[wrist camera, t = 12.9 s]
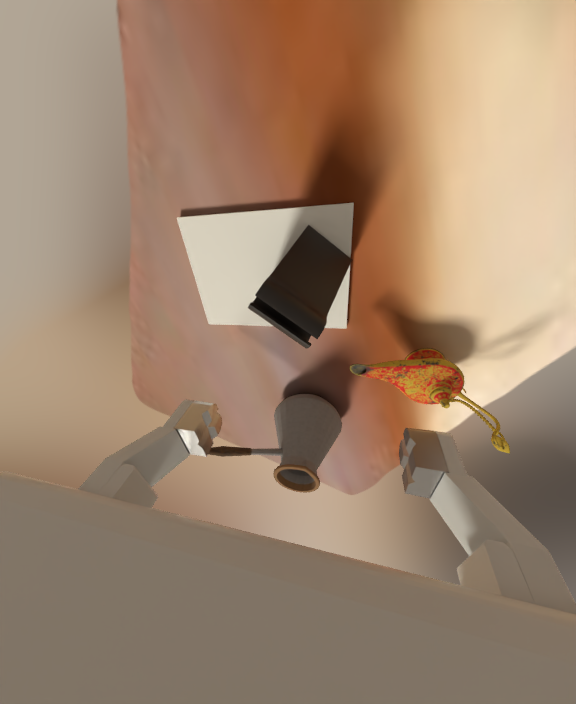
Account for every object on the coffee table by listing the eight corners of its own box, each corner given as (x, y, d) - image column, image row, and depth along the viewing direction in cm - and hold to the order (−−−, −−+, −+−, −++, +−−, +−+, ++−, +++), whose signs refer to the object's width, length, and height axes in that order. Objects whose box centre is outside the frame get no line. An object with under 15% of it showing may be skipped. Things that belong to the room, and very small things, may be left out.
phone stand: (309, 223, 26) (282, 249, 16) (352, 259, 27) (352, 302, 17) (267, 288, 31) (228, 337, 21) (305, 315, 32) (284, 373, 22)
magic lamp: (362, 315, 31) (365, 369, 22) (494, 364, 31) (550, 438, 22) (340, 355, 35) (335, 413, 26) (456, 398, 35) (491, 471, 26)
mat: (353, 202, 24) (353, 203, 24) (346, 325, 32) (346, 328, 32) (180, 216, 29) (176, 217, 28) (211, 321, 37) (208, 324, 36)
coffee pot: (355, 402, 40) (355, 497, 28) (325, 437, 47) (315, 526, 35) (235, 351, 39) (183, 426, 27) (223, 394, 46) (177, 469, 34)
